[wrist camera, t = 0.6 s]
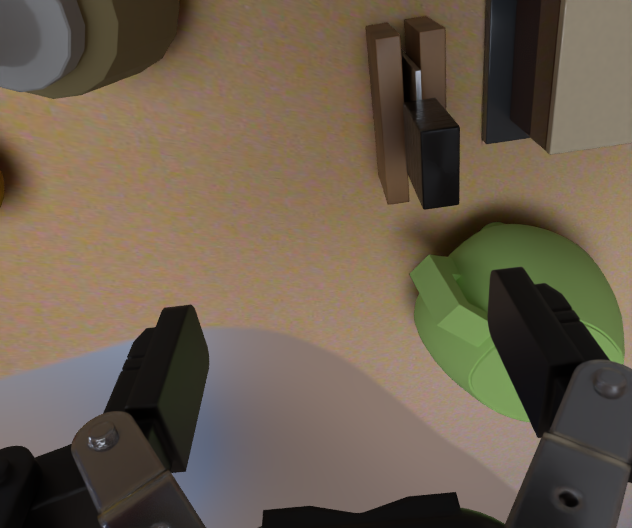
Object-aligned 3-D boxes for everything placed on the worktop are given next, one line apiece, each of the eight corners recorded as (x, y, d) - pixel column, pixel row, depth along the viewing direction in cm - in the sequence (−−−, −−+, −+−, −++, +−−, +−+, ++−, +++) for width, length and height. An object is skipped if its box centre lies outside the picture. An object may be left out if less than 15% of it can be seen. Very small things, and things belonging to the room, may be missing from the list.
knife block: (365, 25, 32) (374, 39, 27) (426, 15, 31) (445, 27, 27) (378, 174, 37) (387, 205, 33) (430, 167, 37) (447, 196, 32)
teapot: (639, 280, 42) (750, 393, 32) (521, 377, 48) (582, 501, 38) (461, 153, 36) (526, 242, 26) (351, 283, 42) (366, 399, 31)
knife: (383, 48, 32) (419, 98, 22) (411, 44, 32) (460, 92, 22) (390, 153, 36) (424, 236, 26) (416, 149, 36) (459, 231, 26)
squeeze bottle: (67, 58, 32) (-143, 164, 17) (39, -97, 28) (-276, -140, 13) (196, 67, 33) (101, 178, 18) (187, -85, 28) (53, -112, 13)
